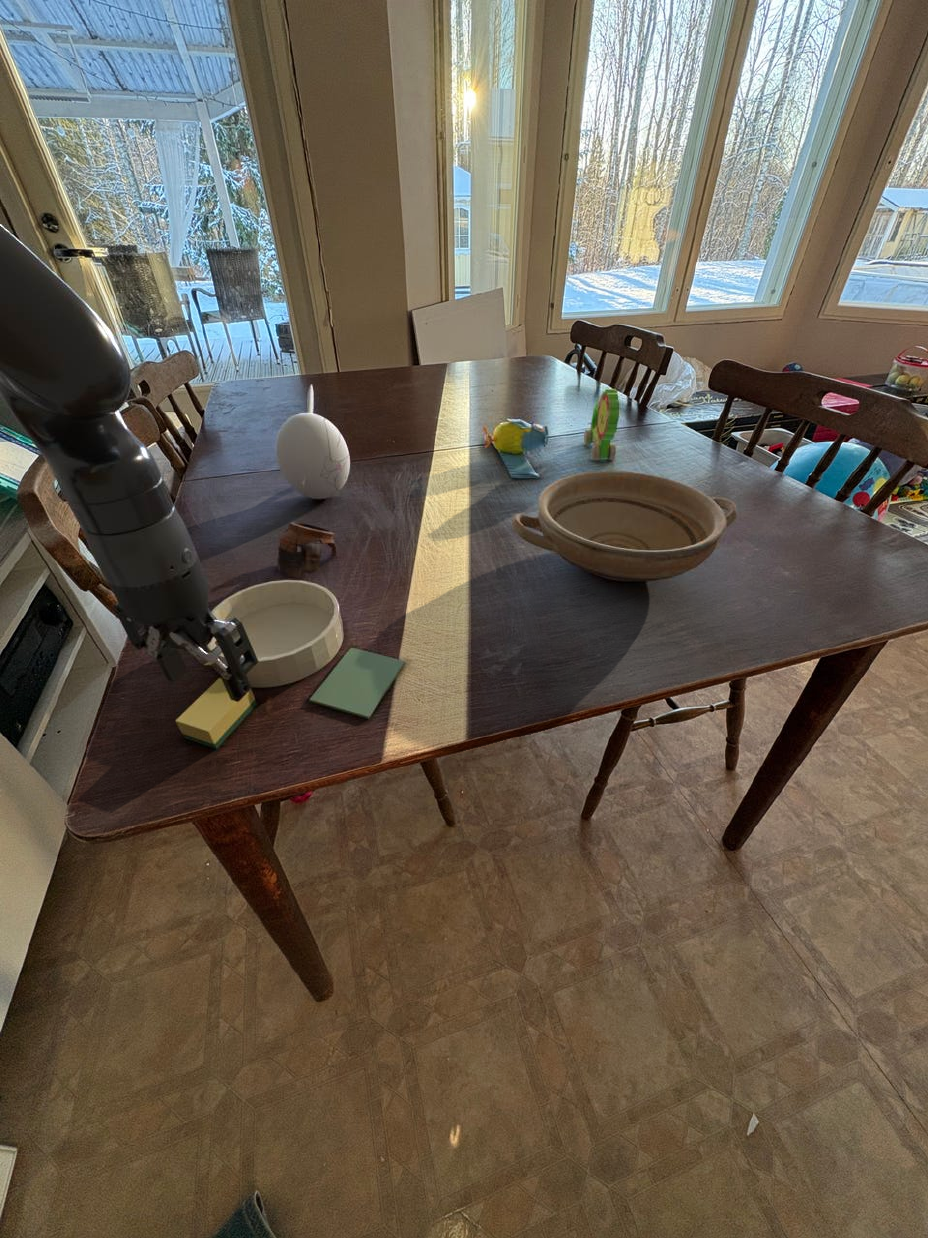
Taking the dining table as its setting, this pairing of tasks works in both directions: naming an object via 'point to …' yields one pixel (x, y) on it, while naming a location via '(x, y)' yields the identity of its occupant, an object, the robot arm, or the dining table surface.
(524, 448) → the toy airplane
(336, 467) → the spiked white egg
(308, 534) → the pottery mug
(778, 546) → the dining table surface
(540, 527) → the ceramic bowl
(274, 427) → the dining table surface
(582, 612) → the dining table surface
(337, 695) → the mat
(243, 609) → the wash bowl
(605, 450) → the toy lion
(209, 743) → the sponge
